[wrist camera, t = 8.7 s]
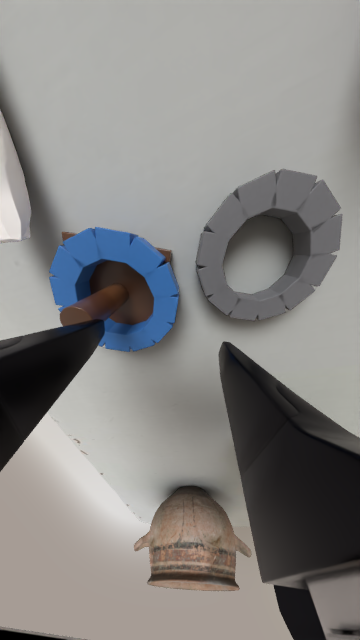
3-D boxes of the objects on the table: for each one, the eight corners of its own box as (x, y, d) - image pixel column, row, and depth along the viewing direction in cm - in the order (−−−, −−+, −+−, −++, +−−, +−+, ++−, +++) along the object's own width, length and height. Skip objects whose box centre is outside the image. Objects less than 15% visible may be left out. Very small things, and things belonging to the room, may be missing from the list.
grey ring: (282, 318, 16) (295, 327, 14) (187, 303, 15) (187, 310, 13) (346, 197, 11) (378, 187, 9) (213, 170, 11) (219, 154, 9)
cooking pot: (147, 500, 43) (135, 586, 32) (139, 474, 35) (118, 577, 24) (232, 504, 42) (249, 593, 31) (244, 478, 34) (273, 587, 23)
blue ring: (170, 346, 16) (168, 357, 15) (77, 332, 16) (64, 342, 14) (187, 244, 12) (187, 243, 10) (57, 220, 11) (33, 215, 10)
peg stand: (161, 334, 17) (148, 384, 11) (84, 322, 17) (23, 367, 10) (171, 250, 13) (159, 252, 7) (69, 232, 13) (-44, 217, 6)
